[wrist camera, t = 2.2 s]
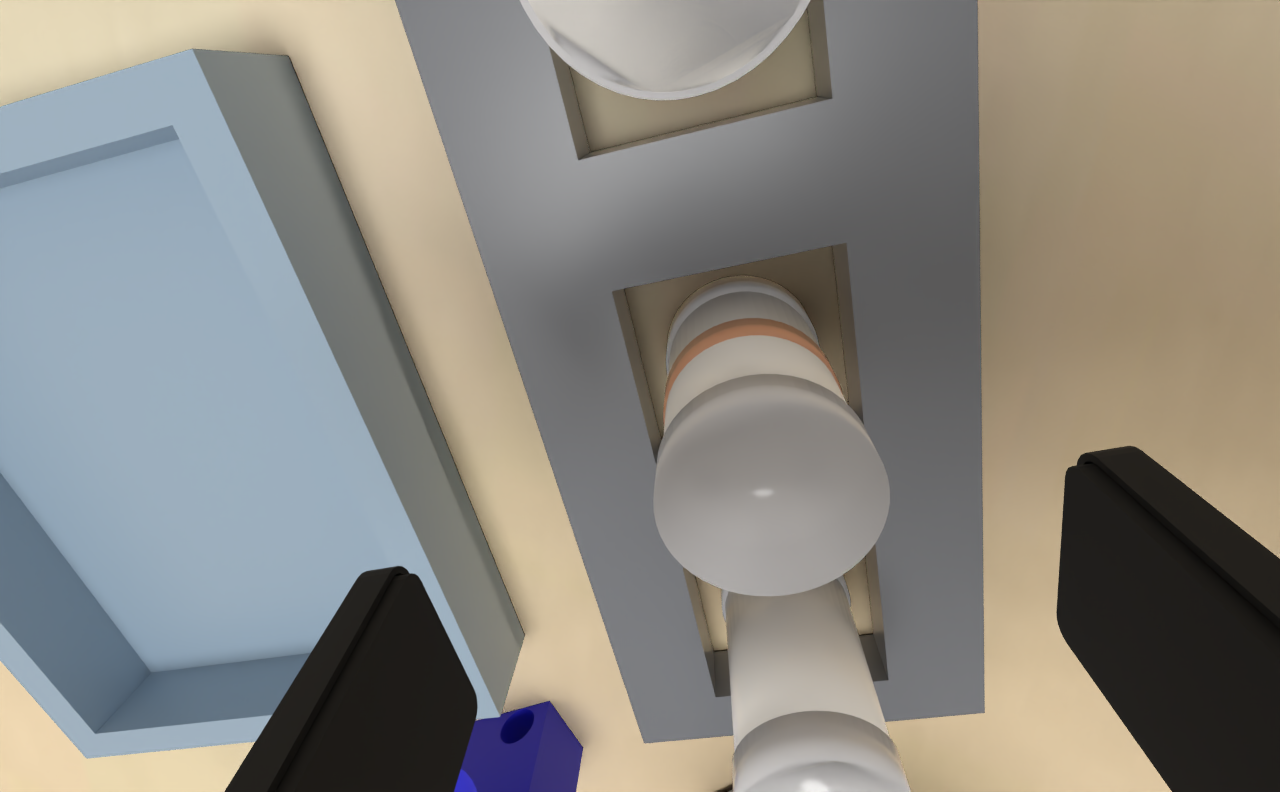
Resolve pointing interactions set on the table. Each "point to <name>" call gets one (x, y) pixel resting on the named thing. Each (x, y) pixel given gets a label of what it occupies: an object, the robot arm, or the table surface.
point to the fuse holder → (724, 237)
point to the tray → (205, 412)
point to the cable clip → (521, 753)
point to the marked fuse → (761, 447)
